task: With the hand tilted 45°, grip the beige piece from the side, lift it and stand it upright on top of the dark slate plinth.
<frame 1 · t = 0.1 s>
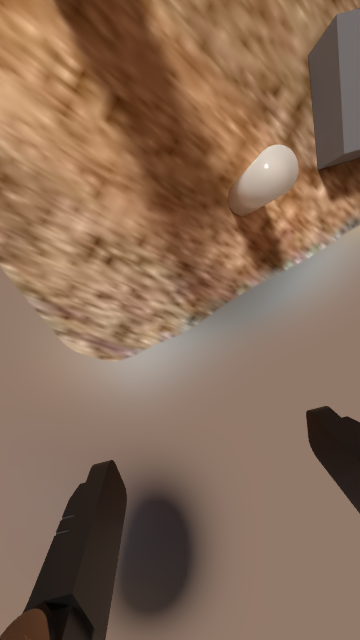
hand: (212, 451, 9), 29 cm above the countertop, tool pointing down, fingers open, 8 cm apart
beige piece: (243, 198, 33), on the countertop
plinth: (359, 102, 31), on the countertop
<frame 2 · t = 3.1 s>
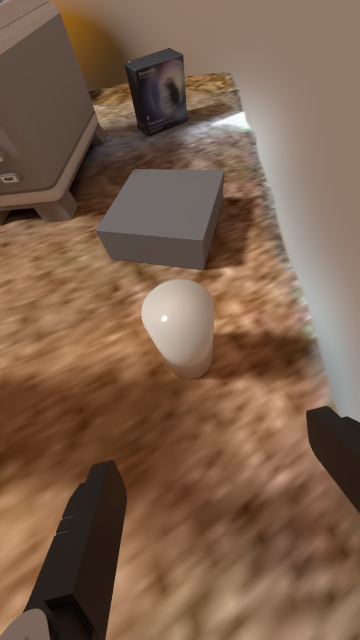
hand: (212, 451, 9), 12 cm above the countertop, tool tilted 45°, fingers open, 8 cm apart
beige piece: (189, 356, 23), on the countertop
plinth: (169, 230, 33), on the countertop
toaster: (49, 180, 46), on the countertop
small box: (163, 126, 51), on the countertop
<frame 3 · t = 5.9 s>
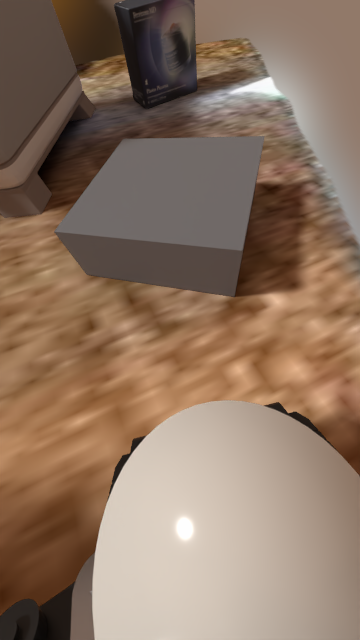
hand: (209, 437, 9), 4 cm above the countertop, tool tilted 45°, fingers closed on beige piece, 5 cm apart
beige piece: (219, 472, 12), on the countertop, touching gripper
plinth: (175, 230, 22), on the countertop
toaster: (17, 164, 35), on the countertop
small box: (165, 97, 40), on the countertop
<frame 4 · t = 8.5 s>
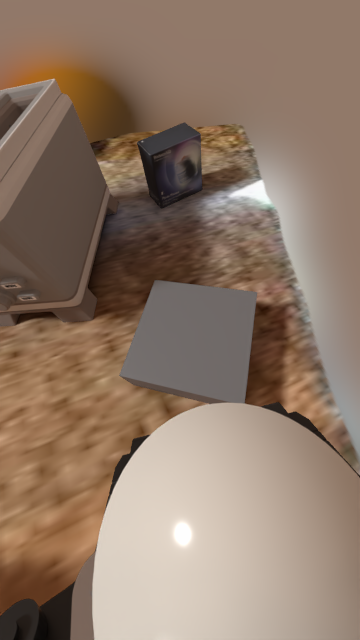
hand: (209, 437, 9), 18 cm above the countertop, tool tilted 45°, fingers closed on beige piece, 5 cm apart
beige piece: (219, 473, 12), point 14 cm above the countertop, touching gripper
plinth: (194, 346, 31), on the countertop
toaster: (61, 262, 43), on the countertop
small box: (176, 194, 49), on the countertop
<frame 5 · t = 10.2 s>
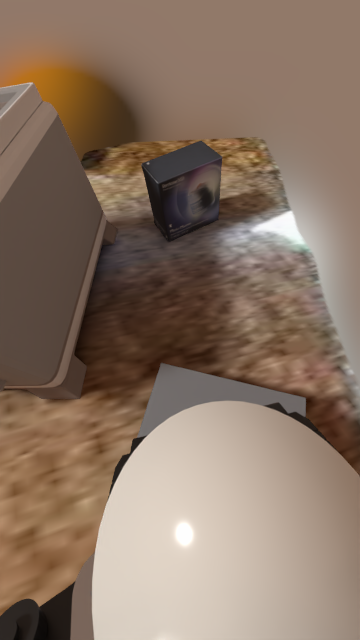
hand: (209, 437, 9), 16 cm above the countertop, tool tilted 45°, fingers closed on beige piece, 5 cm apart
beige piece: (219, 473, 12), point 12 cm above the countertop, touching gripper
plinth: (212, 456, 23), on the countertop
toaster: (45, 307, 35), on the countertop
small box: (186, 223, 40), on the countertop
when the fingers open (11 cm above the countertop, at t = 11.5 s): beige piece drops 1 cm, resting on plinth.
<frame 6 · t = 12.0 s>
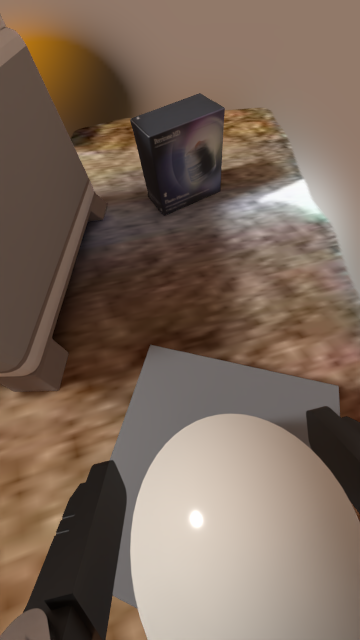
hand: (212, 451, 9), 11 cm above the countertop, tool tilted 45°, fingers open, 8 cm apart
beige piece: (220, 471, 13), point 5 cm above the countertop, touching plinth
plinth: (216, 461, 18), on the countertop
toaster: (23, 289, 30), on the countertop
small box: (184, 196, 36), on the countertop
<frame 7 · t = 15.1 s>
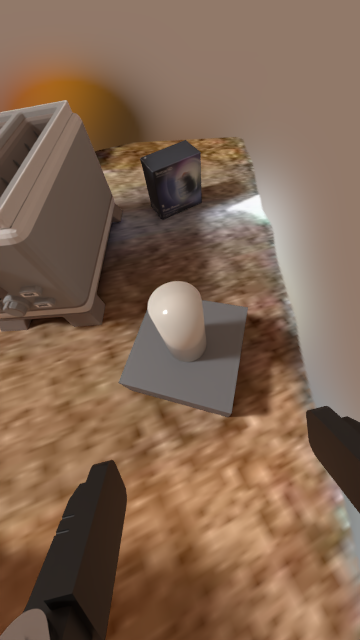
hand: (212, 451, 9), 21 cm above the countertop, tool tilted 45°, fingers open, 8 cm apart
beige piece: (187, 343, 28), point 5 cm above the countertop, touching plinth
plinth: (189, 355, 33), on the countertop
toaster: (69, 269, 46), on the countertop
small box: (176, 206, 51), on the countertop
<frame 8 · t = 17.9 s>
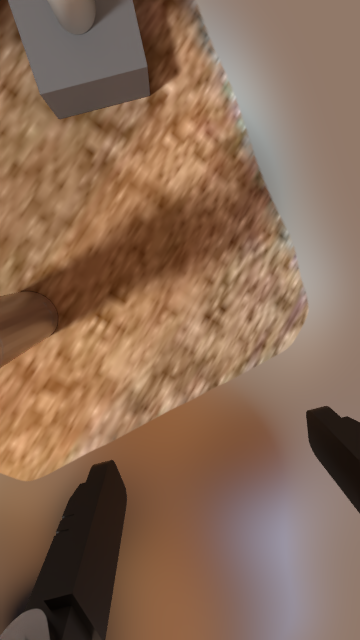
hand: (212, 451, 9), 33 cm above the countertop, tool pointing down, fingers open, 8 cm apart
beige piece: (74, 6, 25), point 5 cm above the countertop, touching plinth
plinth: (87, 47, 30), on the countertop
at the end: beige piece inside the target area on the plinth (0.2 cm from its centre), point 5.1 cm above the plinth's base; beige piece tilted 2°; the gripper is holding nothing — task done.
